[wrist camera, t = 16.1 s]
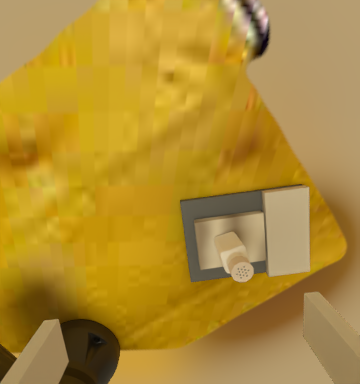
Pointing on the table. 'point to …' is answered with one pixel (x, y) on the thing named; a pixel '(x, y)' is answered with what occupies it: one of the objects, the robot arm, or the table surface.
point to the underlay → (273, 225)
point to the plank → (238, 223)
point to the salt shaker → (234, 256)
